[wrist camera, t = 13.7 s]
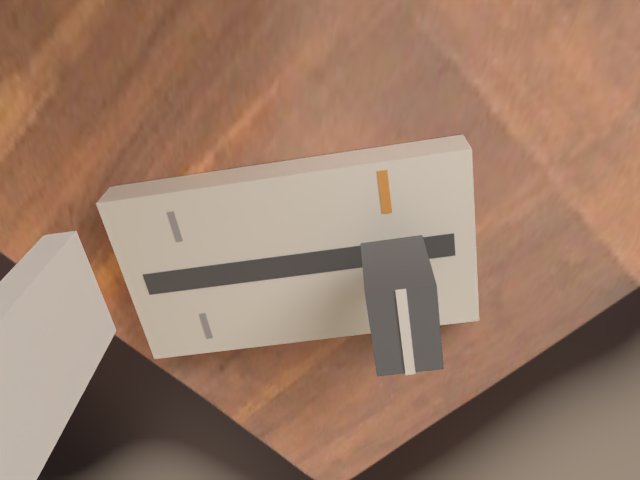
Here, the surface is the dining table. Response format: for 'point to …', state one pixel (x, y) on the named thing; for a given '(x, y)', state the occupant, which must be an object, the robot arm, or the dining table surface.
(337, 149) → the dining table surface
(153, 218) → the console
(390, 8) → the dining table surface
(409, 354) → the fader knob
